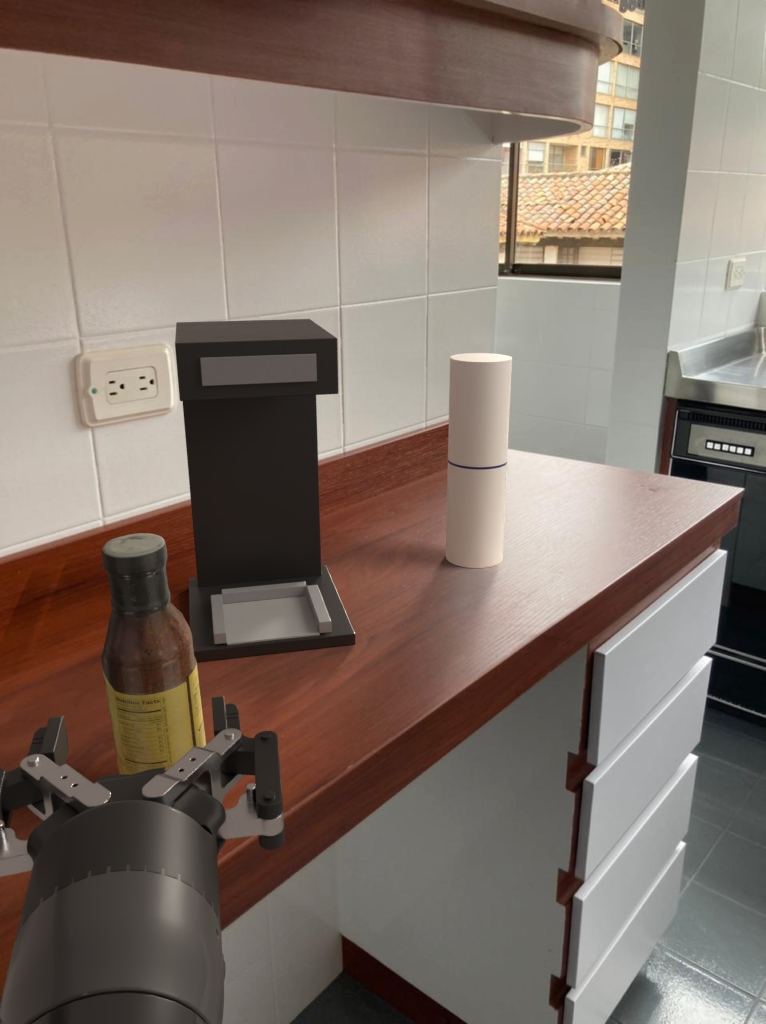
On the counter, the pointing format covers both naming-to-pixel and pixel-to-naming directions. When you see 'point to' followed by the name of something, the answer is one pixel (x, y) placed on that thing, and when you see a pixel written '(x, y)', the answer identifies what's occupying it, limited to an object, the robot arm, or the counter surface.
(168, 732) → the sauce bottle
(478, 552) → the cylindrical container
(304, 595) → the coffee maker
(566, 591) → the counter surface
